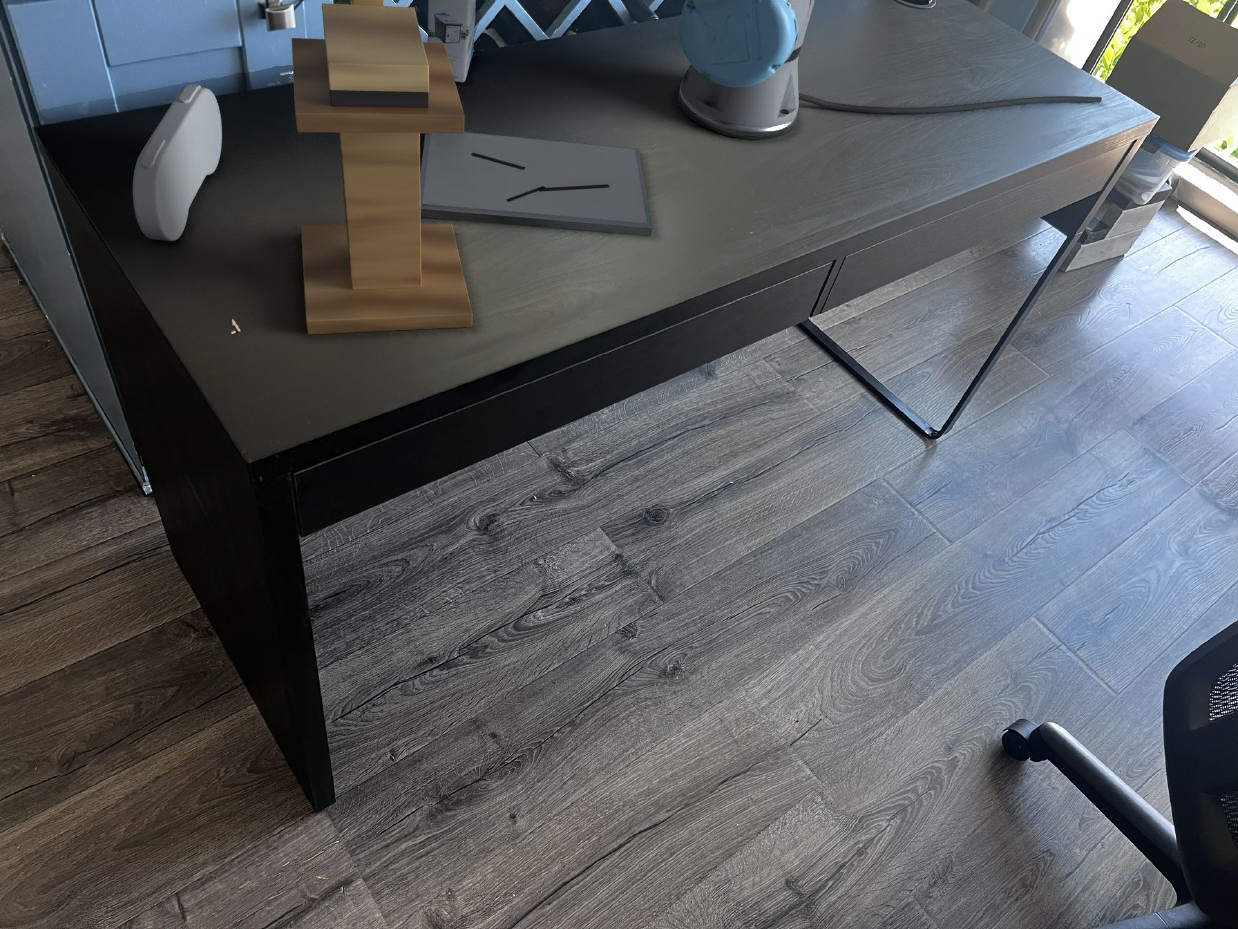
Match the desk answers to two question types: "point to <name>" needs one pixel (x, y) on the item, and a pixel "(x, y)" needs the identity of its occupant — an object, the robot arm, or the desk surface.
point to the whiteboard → (534, 183)
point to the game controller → (177, 163)
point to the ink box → (453, 31)
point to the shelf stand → (379, 210)
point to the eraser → (375, 55)
